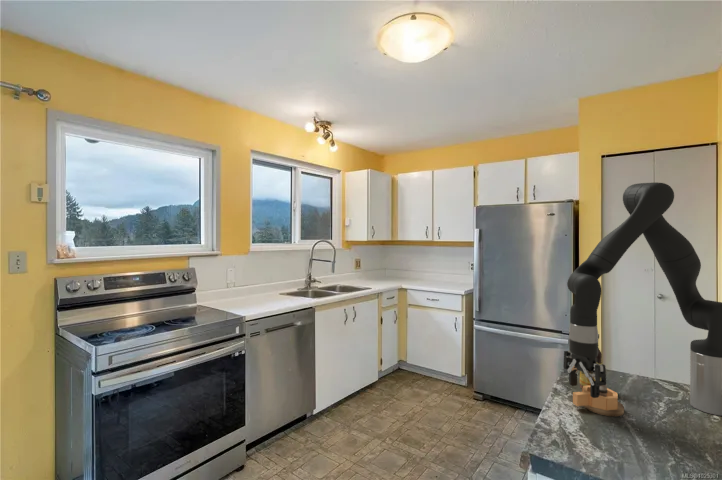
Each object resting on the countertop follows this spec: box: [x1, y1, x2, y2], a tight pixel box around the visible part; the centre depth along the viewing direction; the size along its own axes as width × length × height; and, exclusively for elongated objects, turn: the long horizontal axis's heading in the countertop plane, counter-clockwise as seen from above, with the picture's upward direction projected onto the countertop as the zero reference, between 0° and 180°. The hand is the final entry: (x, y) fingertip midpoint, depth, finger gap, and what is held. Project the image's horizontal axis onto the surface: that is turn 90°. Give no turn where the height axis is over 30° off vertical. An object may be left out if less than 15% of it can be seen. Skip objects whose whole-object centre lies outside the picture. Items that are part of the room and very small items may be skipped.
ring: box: [572, 385, 619, 410], centre depth 109 cm, size 13×9×4 cm
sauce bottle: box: [579, 333, 603, 390], centre depth 122 cm, size 7×6×20 cm
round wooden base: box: [582, 383, 625, 417], centre depth 109 cm, size 11×11×8 cm
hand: (583, 390), depth 108 cm, fingers open, 8 cm apart
